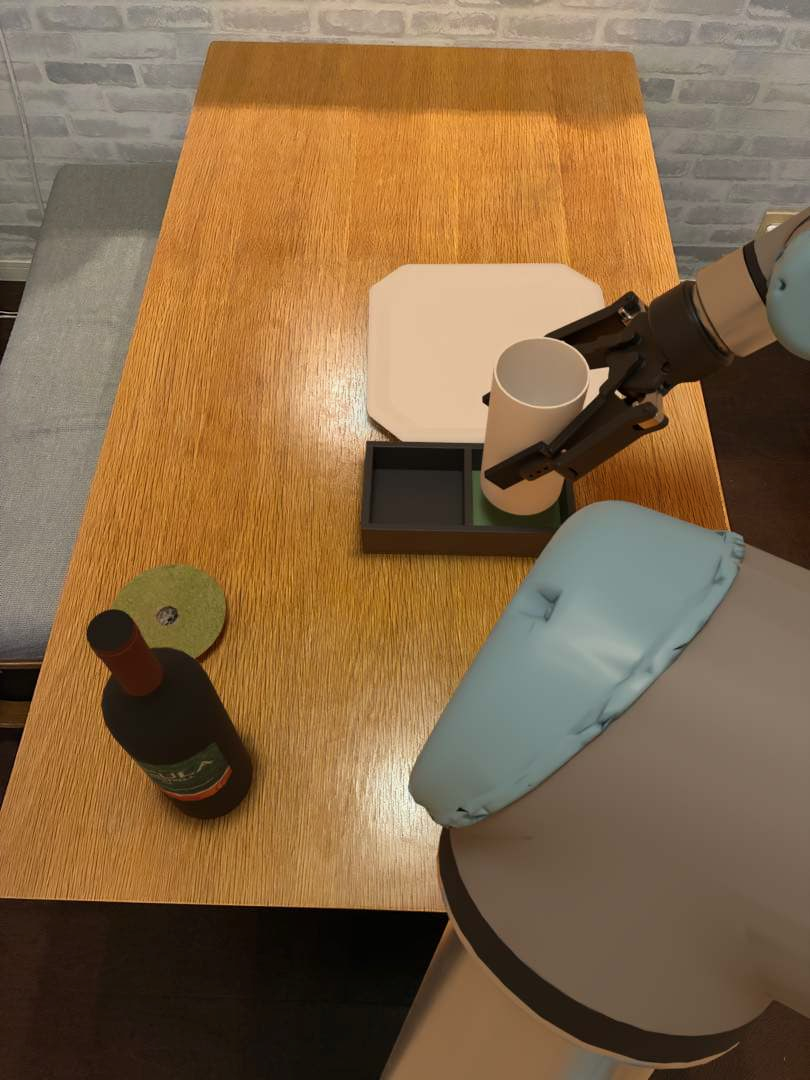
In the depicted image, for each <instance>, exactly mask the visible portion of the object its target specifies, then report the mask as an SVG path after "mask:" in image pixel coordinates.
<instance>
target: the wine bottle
mask: <svg viewBox="0 0 810 1080" xmlns="http://www.w3.org/2000/svg"><path fill="white" fill-rule="evenodd" d="M110 609H111V608H110ZM110 609H107V610H102V611H101V612H99V613H98V614H96V615H95V616H94V617H93V618H92V619H91V620H90V621H89V623H88V625H87V627H86V632H85V635H86V641H87V642H88V644H89V647H90V648H91V650H92V652H93V653H94V654H95V656H96V657H97V658H98V659H99V660H101V661H102V662H103V664H104V665H105V666H106V668H107V669H108V671H109V672H110V673H111V674H110V675H109V677H108V679H107V681H106V683H105V685H104V687H103V690H102V696H101V704H100V707H101V712H102V718H103V721H104V724H105V726H106V728H107V729H108V731H109V733H110V735H111V736H112V738H113V739H114V741H116V743H118V744H119V746H120V747H121V748H122V749H123V750H124V751H125V753H127V755H128V756H129V757H130V758H131V759H132V760H133V761H134V762H135V764H137V766H138V767H139V768H140V769H141V770H142V771H143V772H144V774H145V775H146V776H147V777H148V778H149V779H150V780H151V781H152V782H153V783H154V784H155V785H156V786H157V788H158V789H159V790H160V791H161V792H162V793H163V795H164V796H166V798H167V799H168V800H169V801H170V802H171V803H172V804H173V806H174V807H175V808H176V809H177V810H179V811H180V812H182V813H183V814H184V815H186V816H187V817H190V818H193V819H197V820H201V821H202V820H215V819H218V818H220V817H221V818H222V817H224V816H226V815H228V814H229V813H231V812H232V811H233V810H234V809H237V808H238V807H239V806H240V804H241V803H242V802H243V800H244V799H245V798H246V797H247V795H248V794H249V791H250V787H251V785H252V782H253V771H254V768H253V764H252V760H251V756H250V755H249V752H248V750H247V749H246V746H245V744H244V743H243V741H242V739H241V737H240V735H239V733H238V731H237V729H236V727H235V725H234V723H233V721H232V719H231V716H230V715H229V714H228V711H227V709H226V707H225V706H224V703H223V702H222V699H221V698H220V696H219V694H218V692H217V690H216V688H215V686H214V684H213V682H212V680H211V677H210V676H209V674H208V673H207V671H206V670H205V669H204V667H203V666H202V664H201V663H200V662H199V661H198V660H197V659H196V658H195V659H194V658H193V657H191V656H190V655H188V654H187V653H185V652H184V651H181V650H177V649H173V648H170V647H159V648H149V646H148V645H147V643H146V641H145V640H144V638H143V637H142V635H141V632H140V629H139V628H138V626H137V625H136V623H135V622H134V620H133V619H132V618H131V617H130V616H129V615H128V614H127V613H125V612H124V611H121V610H118V609H111V610H110Z"/></svg>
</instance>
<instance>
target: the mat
mask: <svg viewBox="0 0 810 1080" xmlns="http://www.w3.org/2000/svg"><path fill="white" fill-rule="evenodd" d="M111 609H118V610H121V611H124V612H125V613H127V614H128V615H129V616H130V617H131V618H132V619H133V620H134V622H135V623H136V625H137V626H138V628H139V629H140V632H141V635H142V637H143V638H144V640H145V641H146V643H147V645H148V646H149V648H159V647H170V648H173V649H177V650H181V651H184V652H185V653H187V654H188V655H190V656H191V657H193V658H194V659H196V658H198V657H199V656H201V655H202V654H204V653H205V652H206V651H207V650H208V649H209V648H210V647H211V646H212V645H213V644H214V642H215V641H216V640H217V638H218V637H219V635H220V634H221V632H222V630H223V626H224V623H225V619H226V615H227V602H226V597H225V594H224V591H223V590H222V587H221V585H220V584H219V583H218V581H216V579H215V578H214V577H212V575H210V574H209V573H207V572H206V571H205V570H202V569H201V568H198V567H195V566H193V565H188V564H183V563H180V564H179V563H177V564H176V563H171V564H164V565H159V566H156V567H151V568H149V569H148V570H145V571H142V572H141V573H139V574H138V575H136V576H135V577H133V578H131V580H129V581H128V582H127V583H126V584H125V585H124V586H123V587H122V588H121V589H120V591H119V592H118V593H117V595H116V597H115V598H114V600H113V602H112V604H111V606H110V609H109V610H111Z"/></svg>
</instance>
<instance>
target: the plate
mask: <svg viewBox="0 0 810 1080" xmlns="http://www.w3.org/2000/svg"><path fill="white" fill-rule="evenodd" d="M605 307H606V303H605V298H604V293H603V289H602V288H601V286H600V285H599V284H598V283H596V282H595V281H593V280H592V279H590V278H588V277H586V276H585V275H583V274H582V273H580V272H578V271H577V270H575V269H573V268H572V267H570V266H568V265H566V264H564V263H560V262H533V263H532V262H530V263H529V262H527V263H526V262H525V263H524V262H523V263H521V262H520V263H517V262H516V263H510V262H509V263H407V264H403V265H400V266H399V267H398V268H396V269H395V270H393V271H392V272H390V273H389V274H387V275H386V276H385V277H383V278H381V279H380V280H379V281H377V282H376V283H374V284H373V285H371V287H370V288H369V291H368V321H367V325H368V326H367V364H366V365H367V366H366V369H367V370H366V372H367V373H366V409H365V411H366V413H367V415H368V417H369V418H370V419H371V420H372V421H374V422H375V423H376V424H377V425H379V427H381V428H383V429H384V430H385V431H386V432H387V433H389V434H390V435H392V436H393V437H394V438H396V439H397V441H405V442H454V443H484V442H485V434H486V426H487V417H488V409H489V407H488V406H487V405H485V404H484V403H483V402H482V396H484V395H485V394H487V393H489V392H490V391H491V384H492V376H493V369H494V364H495V361H496V359H497V357H498V355H499V354H500V352H501V351H502V350H503V349H504V348H505V347H507V346H508V345H510V344H511V343H513V342H515V341H518V340H521V339H524V338H529V337H544V336H545V335H546V334H548V333H550V332H552V331H554V330H557V329H559V328H561V327H563V326H565V325H568V324H570V323H572V322H574V321H576V320H579V319H581V318H583V317H585V316H588V315H590V314H592V313H594V312H596V311H599V310H601V309H603V308H605ZM562 342H564V341H562ZM608 372H609V367H606V368H600V369H594V370H590V382H589V387H588V391H587V395H586V398H585V402H584V406H583V410H584V409H585V408H586V407H587V405H588V404H589V403H590V402H591V401H592V400H593V399H594V398H595V397H596V396H597V395H598V394H599V388H600V386H601V385H602V384H603V383H604V382H605V381H606V380H607V379H608ZM615 394H616V395H618V396H619V397H620V398H621V399H623V395H622V394H620V393H619V392H618V391H617V390H616V391H615ZM583 410H582V411H583Z"/></svg>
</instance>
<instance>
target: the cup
mask: <svg viewBox="0 0 810 1080" xmlns="http://www.w3.org/2000/svg"><path fill="white" fill-rule="evenodd" d="M589 382H590V370H589V366H588V364H587V362H586V360H585V358H584V357H583V356H582V355H581V353H579V352H578V351H577V350H576V349H575V348H573V347H572V346H570V345H569V344H567V343H565V342H562V341H560V340H557V339H553V338H547V337H529V338H524V339H521V340H518V341H515V342H513V343H511V344H510V345H508V346H507V347H505V348H504V349H503V350H502V351H501V352H500V354H499V355H498V357H497V359H496V361H495V364H494V369H493V376H492V384H491V393H490V401H489V409H488V417H487V426H486V434H485V442H484V451H483V459H482V467H481V475H480V483H481V488H482V491H483V493H484V495H485V496H486V498H487V499H488V500H489V501H490V502H491V503H492V504H493V505H494V506H496V507H497V508H499V509H501V510H503V511H505V512H508V513H511V514H516V515H532V514H536V513H539V512H542V511H544V510H546V509H548V508H549V507H550V506H552V505H553V504H554V503H555V502H556V500H557V499H558V497H559V495H560V493H561V489H562V485H563V482H564V477H563V476H561V475H560V474H558V473H557V472H556V471H552V472H550V473H548V474H546V475H544V476H542V477H540V478H538V479H536V480H534V481H527V480H526V479H525V480H523V481H521V482H519V483H517V484H515V485H513V486H511V487H509V488H507V489H505V490H502V489H501V488H499V487H498V486H496V485H495V484H493V483H492V482H490V481H489V480H487V479H485V478H484V471H485V470H487V469H489V468H491V467H493V466H495V465H497V464H498V463H500V462H502V461H504V460H506V459H508V458H510V457H512V456H513V455H515V454H517V453H519V452H521V451H523V450H525V449H526V448H528V447H530V446H532V445H534V444H536V443H538V442H540V441H543V442H544V443H545V444H547V445H549V444H550V443H551V442H552V441H553V440H554V439H555V438H556V437H557V436H558V435H559V434H560V433H561V432H562V431H563V430H564V429H565V428H566V427H567V426H568V425H569V424H570V423H571V422H572V421H573V420H574V419H575V418H576V417H577V416H578V415H579V414H580V413H581V412H582V410H583V406H584V402H585V398H586V395H587V391H588V387H589ZM562 451H564V452H565V451H566V450H562Z"/></svg>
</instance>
